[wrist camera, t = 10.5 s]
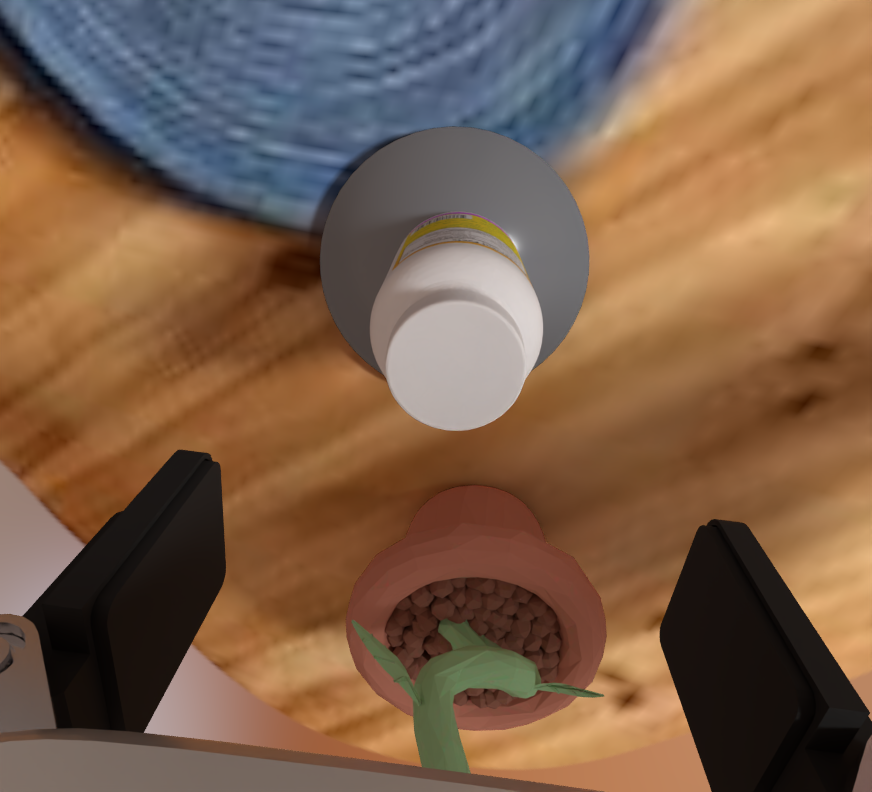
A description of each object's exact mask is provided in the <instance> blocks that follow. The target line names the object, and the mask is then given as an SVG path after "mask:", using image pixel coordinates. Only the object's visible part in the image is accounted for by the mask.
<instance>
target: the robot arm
mask: <svg viewBox="0 0 872 792" xmlns="http://www.w3.org/2000/svg"><path fill="white" fill-rule="evenodd" d="M225 573H226V560H225V542H224V523H223V505H222V486H221V469H220V464H219V463H218V462H213V461H212V458H211V455H210V454H208V453H202V452H195V451H187V450H178V451H176V452H175V453H174V454H173V455H172V456H171V458H170V459H169V460H168V461H167V462H166V463H165V464H164V465H163V467H162V468H161V469H160V470H159V471H158V472H157V473H156V475H155V476H154V477H153V478H152V479H151V480H150V481H149V482H148V484H147V485H146V486H145V487H144V488H143V489H142V490H141V492H140V493H139V494H138V495H137V496H136V497H135V498H134V499H133V501H132V502H131V503H130V504H129V505H128V506H127V507H126V509H125V510H124V511H122V512H118V513H116V514H115V515H114V516H113V517H111V518H110V519H109V521H108V522H107V523H106V524H105V525H104V526H103V527H102V528H101V529H100V531H99V532H98V533H97V534H96V535H95V536H94V537H93V538H92V539H91V541H90V542H89V543H88V544H87V545H86V546H85V547H84V548H83V549H82V551H81V552H80V553H79V554H78V555H77V556H76V557H75V559H73V561H72V562H71V563H70V564H69V565H68V566H67V567H66V568H65V569H64V571H63V572H62V573H61V574H60V575H59V576H58V578H57V579H56V580H55V581H54V582H53V583H52V584H51V585H50V586H49V587H48V588H47V590H46V591H45V592H44V593H43V594H42V595H41V596H40V597H39V598H38V600H37V601H36V602H35V603H34V604H33V605H32V607H30V608H29V610H28V611H27V612H26V613H25V614H24V615H23V616H17V615H12V614H0V792H603V791H596V790H588V789H581V788H574V787H566V786H559V785H552V784H545V783H536V782H530V781H522V780H515V779H508V778H500V777H493V776H484V775H477V774H470V773H463V772H455V771H447V770H440V769H432V768H425V767H417V766H409V765H402V764H394V763H387V762H379V761H371V760H364V759H356V758H348V757H339V756H332V755H324V754H316V753H308V752H301V751H293V750H285V749H277V748H268V747H261V746H253V745H245V744H237V743H230V742H222V741H212V740H203V739H194V738H185V737H176V736H165V735H157V734H147V733H144V731H145V729H146V727H147V725H148V723H149V722H150V720H151V718H152V716H153V714H154V712H155V710H156V709H157V707H158V705H159V703H160V701H161V699H162V697H163V696H164V693H165V692H166V690H167V688H168V686H169V684H170V682H171V681H172V678H173V677H174V675H175V673H176V671H177V669H178V667H179V666H180V664H181V662H182V660H183V658H184V656H185V654H186V653H187V650H188V649H189V647H190V645H191V643H192V641H193V639H194V638H195V636H196V634H197V632H198V630H199V628H200V626H201V624H202V623H203V621H204V619H205V617H206V615H207V613H208V611H209V610H210V608H211V606H212V604H213V602H214V600H215V598H216V596H217V595H218V593H219V591H220V589H221V587H222V585H223V582H224V578H225ZM660 643H661V647H662V650H663V652H664V655H665V658H666V661H667V664H668V667H669V670H670V673H671V675H672V678H673V681H674V684H675V687H676V690H677V693H678V696H679V699H680V701H681V704H682V707H683V710H684V713H685V716H686V719H687V722H688V724H689V727H690V730H691V733H692V736H693V739H694V742H695V745H696V748H697V750H698V753H699V756H700V759H701V762H702V765H703V768H704V770H705V773H706V776H707V779H708V782H709V785H710V788H711V791H712V792H872V721H871V720H870V718H869V717H868V715H869V714H870V712H869V710H868V709H867V707H866V706H865V704H864V703H863V701H862V700H861V698H860V697H859V695H858V694H857V692H856V691H855V689H854V688H853V686H852V685H851V683H850V681H849V680H848V678H847V677H846V675H845V674H844V672H843V671H842V669H841V668H840V666H839V665H838V663H837V662H836V660H835V659H834V657H833V656H832V654H831V652H830V651H829V649H828V648H827V646H826V645H825V643H824V642H823V640H822V639H821V637H820V636H819V634H818V633H817V631H816V630H815V628H814V627H813V625H812V624H811V622H810V620H809V619H808V617H807V616H806V614H805V613H804V611H803V610H802V608H801V607H800V605H799V604H798V602H797V601H796V599H795V598H794V596H793V595H792V593H791V591H790V590H789V588H788V587H787V585H786V584H785V582H784V581H783V579H782V578H781V576H780V575H779V573H778V572H777V570H776V569H775V567H774V566H773V564H772V563H771V561H770V559H769V558H768V556H767V555H766V553H765V552H764V550H763V549H762V547H761V546H760V544H759V543H758V541H757V540H756V538H755V537H754V535H753V534H752V532H751V530H750V529H749V527H748V526H747V525H746V524H744V523H740V522H732V521H725V520H717V519H713V520H711V521H710V522H709V523H708V524H707V526H705V525H702V526H700V527H699V528H698V530H697V532H696V535H695V538H694V540H693V543H692V545H691V548H690V551H689V553H688V556H687V558H686V561H685V564H684V566H683V569H682V571H681V574H680V577H679V579H678V582H677V584H676V587H675V590H674V592H673V595H672V597H671V600H670V603H669V605H668V608H667V610H666V613H665V616H664V618H663V621H662V623H661V627H660Z"/></svg>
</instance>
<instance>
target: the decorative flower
mask: <svg viewBox="0 0 872 792" xmlns="http://www.w3.org/2000/svg"><path fill="white" fill-rule="evenodd" d="M346 632H347V640H348V644H349V648H350V652H351V655H352V658H353V660H354V663H355V666H356V669H357V670H358V671H359V672H360V674H361V675H362V676H363V678H364V679H365V680H366V681H367V683H368V684H369V685H370V686H371V688H372V689H373V690H374V691H375V692H376V693H377V695H379V696H380V697H382V698H383V699H385V700H386V701H388V702H389V703H391V704H392V705H394V706H395V707H397V708H398V709H400V710H401V711H403V712H404V713H406V714H408V715H410V716H413V718H414V732H415V737H416V742H417V746H418V751H419V755H420V760H421V764H422V767H425V768H432V769H440V770H447V771H455V772H463V773H470V770H469V766H468V763H467V760H466V756H465V753H464V750H463V746H462V743H461V740H460V736H459V732H458V729H463V730H473V731H480V730H505V729H509V728H514V727H518V726H523V725H527V724H530V723H532V722H535V721H537V720H540V719H542V718H545V717H547V716H549V715H551V714H553V713H555V712H557V711H559V710H561V709H563V708H565V707H567V706H568V705H569V704H570V703H571V702H572V701H573V700H574V699H575V698H576V697H577V696H578V697H603V696H604V695H603V694H599V693H595V692H592V691H588V690H585V688H586V687H587V686H588V685H589V684H591V683H592V681H593V679H594V677H595V674H596V672H597V669H598V667H599V664H600V662H601V660H602V657H603V653H604V647H605V642H606V637H607V636H606V621H605V615H604V611H603V606H602V602H601V598H600V596H599V594H598V593H597V591H596V590H595V588H594V587H593V585H592V584H591V582H590V581H589V580H588V578H587V577H586V575H585V574H584V572H583V571H582V569H581V568H580V566H579V565H578V563H577V562H576V560H575V559H574V558H573V557H571V556H570V555H568V554H566V553H564V552H562V551H560V550H559V549H557V548H555V547H553V546H551V545H549V544H547V543H546V541H545V538H544V535H543V533H542V530H541V528H540V526H539V523H538V521H537V520H536V518H535V517H534V515H533V513H532V512H531V511H530V510H529V509H528V507H527V506H526V505H525V504H524V503H523V502H522V501H521V500H519V499H518V498H516V497H514V496H513V495H511V494H510V493H508V492H505V491H502V490H499V489H496V488H493V487H487V486H480V485H469V486H460V487H454V488H451V489H448V490H445V491H443V492H440V493H438V494H437V495H435V496H434V497H432V498H431V499H430V500H428V501H427V502H426V503H425V504H424V505H423V506H422V507H421V508H420V509H419V511H418V512H417V514H416V515H415V517H414V519H413V520H412V522H411V524H410V527H409V530H408V532H407V535H406V538H404V539H402V540H401V541H399V542H397V543H395V544H394V545H392V546H390V547H389V548H387V549H385V550H384V551H382V552H380V553H378V554H377V555H376V556H375V557H374V559H373V560H372V561H371V563H370V564H369V565H368V567H367V568H366V569H365V571H364V572H363V573H362V575H361V576H360V577H359V579H358V580H357V581H356V583H355V585H354V589H353V592H352V595H351V599H350V602H349V607H348V611H347V616H346ZM470 774H471V773H470Z"/></svg>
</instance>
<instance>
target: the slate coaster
mask: <svg viewBox="0 0 872 792" xmlns="http://www.w3.org/2000/svg"><path fill="white" fill-rule="evenodd" d="M459 211H462V212H470V213H474V214H478V215H480V216H483V217H485V218H487V219H489V220H491V221H492V222H494V223H495V224H497V225H498V226H499V227H501V228H502V229H503V230H504V231H505V232H506V234H507V235H508V236H509V237H510V239H511V240H512V242H513V243H514V245H515V247H516V249H517V251H518V253H519V256H520V258H521V260H522V263H523V265H524V268H525V270H526V273H527V275H528V277H529V280H530V282H531V284H532V286H533V289H534V291H535V293H536V296H537V298H538V301H539V304H540V308H541V312H542V318H543V337H542V345H541V349H540V352H539V356H538V358H537V361H536V363H535V365H534V367H533V368H532V370H533V369H534V368H536V367H537V366H538V365H540V364H541V363H542V362H543V361H544V360H545V359H546V358H547V357H548V356H549V355H551V354H552V353H553V352H554V351H555V349H556V348H557V347H558V346H559V344H560V343H561V342H562V341H563V339H564V338H565V337H566V335H567V333H568V332H569V330H570V329H571V327H572V325H573V324H574V322H575V319H576V317H577V315H578V313H579V310H580V308H581V305H582V302H583V299H584V295H585V292H586V287H587V281H588V275H589V248H588V239H587V234H586V230H585V226H584V222H583V219H582V216H581V214H580V211H579V209H578V206H577V203H576V202H575V200H574V198H573V196H572V194H571V193H570V191H569V189H568V187H567V186H566V185H565V183H564V182H563V181H562V179H561V178H560V177H559V176H558V174H557V173H556V172H555V171H554V170H553V169H552V168H551V167H550V166H549V165H548V164H547V163H546V162H545V161H544V160H543V159H542V158H541V157H539V156H538V155H536V154H535V153H534V152H532V151H531V150H530V149H528V148H527V147H525V146H523V145H521V144H520V143H518V142H516V141H514V140H512V139H510V138H508V137H505V136H503V135H500V134H497V133H494V132H491V131H487V130H482V129H477V128H472V127H454V126H452V127H441V128H432V129H428V130H424V131H420V132H416V133H413V134H411V135H408V136H405V137H403V138H400V139H398V140H396V141H394V142H392V143H390V144H389V145H387V146H385V147H383V148H382V149H380V150H379V151H377V152H376V153H375V154H373V155H372V156H371V157H370V158H368V159H367V160H366V161H364V163H363V164H362V165H361V166H360V167H359V168H358V169H357V170H356V171H355V172H354V173H353V174H352V175H351V176H350V178H349V179H348V180H347V182H346V183H345V184H344V186H343V187H342V189H341V190H340V192H339V194H338V196H337V197H336V199H335V201H334V203H333V205H332V207H331V210H330V212H329V215H328V218H327V220H326V223H325V227H324V232H323V236H322V241H321V252H320V272H321V280H322V286H323V292H324V295H325V298H326V302H327V305H328V308H329V310H330V313H331V315H332V317H333V319H334V322H335V324H336V325H337V327H338V329H339V330H340V332H341V334H342V335H343V337H344V338H345V340H346V341H347V342H348V343H349V345H350V346H351V347H352V348H353V350H354V351H355V352H356V353H357V354H358V355H359V356H360V357H361V358H362V359H363V360H364V361H365V362H367V363H368V364H369V365H371V366H372V367H373V368H374V369H376V370H377V371H378V372H380V373H382V371H381V369H380V368H379V366H378V364H377V362H376V359H375V356H374V353H373V350H372V345H371V339H370V318H371V312H372V308H373V305H374V302H375V299H376V296H377V294H378V292H379V290H380V288H381V286H382V284H383V282H384V280H385V278H386V276H387V274H388V271H389V269H390V267H391V265H392V262H393V260H394V258H395V256H396V254H397V252H398V250H399V248H400V246H401V244H402V242H403V241H404V239H405V238H406V237H407V235H408V234H409V233H410V232H411V231H412V230H413V229H414V228H415V227H416V226H418V225H419V224H420V223H422V222H423V221H425V220H427V219H429V218H431V217H433V216H435V215H439V214H442V213H447V212H459ZM532 370H531V371H532ZM382 374H383V373H382ZM383 375H384V374H383Z"/></svg>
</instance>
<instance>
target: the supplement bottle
mask: <svg viewBox="0 0 872 792" xmlns="http://www.w3.org/2000/svg"><path fill="white" fill-rule="evenodd" d="M542 337H543V318H542V312H541V308H540V304H539V301H538V298H537V296H536V293H535V291H534V289H533V286H532V284H531V282H530V280H529V277H528V275H527V273H526V270H525V268H524V265H523V263H522V260H521V258H520V256H519V253H518V251H517V249H516V247H515V245H514V243H513V242H512V240H511V239H510V237H509V236H508V235H507V234H506V232H505V231H504V230H503V229H502V228H501V227H499V226H498V225H497V224H495V223H494V222H492V221H491V220H489V219H487V218H485V217H483V216H480V215H478V214H474V213H470V212H462V211H459V212H447V213H442V214H439V215H435V216H433V217H431V218H429V219H427V220H425V221H423V222H422V223H420V224H419V225H418V226H416V227H415V228H414V229H413V230H412V231H411V232H410V233H409V234H408V235H407V237H406V238H405V239H404V241H403V242H402V244H401V246H400V248H399V250H398V252H397V254H396V256H395V258H394V260H393V262H392V265H391V267H390V269H389V271H388V274H387V276H386V278H385V280H384V282H383V284H382V286H381V288H380V290H379V292H378V294H377V296H376V299H375V302H374V305H373V308H372V312H371V318H370V339H371V345H372V350H373V353H374V356H375V359H376V362H377V364H378V366H379V368H380V369H381V371H382V373H383V374H384V376H385V377H386V379H387V383H388V386H389V389H390V391H391V393H392V395H393V396H394V398H395V400H396V401H397V402H398V404H399V405H400V406H401V407H402V408H403V409H404V410H405V411H406V412H407V413H408V414H409V415H410V416H411V417H413V418H414V419H416V420H418V421H419V422H421V423H423V424H426V425H428V426H431V427H434V428H438V429H443V430H450V431H463V430H470V429H475V428H478V427H481V426H484V425H486V424H488V423H490V422H492V421H494V420H496V419H497V418H499V417H500V416H502V415H503V414H504V413H505V412H506V411H507V410H508V409H509V408H510V407H511V406H512V405H513V403H514V402H515V401H516V399H517V397H518V396H519V394H520V392H521V389H522V387H523V384H524V381H525V379H526V378H527V376H528V375H529V373H530V372H531V370H532V368H533V367H534V365H535V363H536V361H537V358H538V356H539V352H540V349H541V345H542Z"/></svg>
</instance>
